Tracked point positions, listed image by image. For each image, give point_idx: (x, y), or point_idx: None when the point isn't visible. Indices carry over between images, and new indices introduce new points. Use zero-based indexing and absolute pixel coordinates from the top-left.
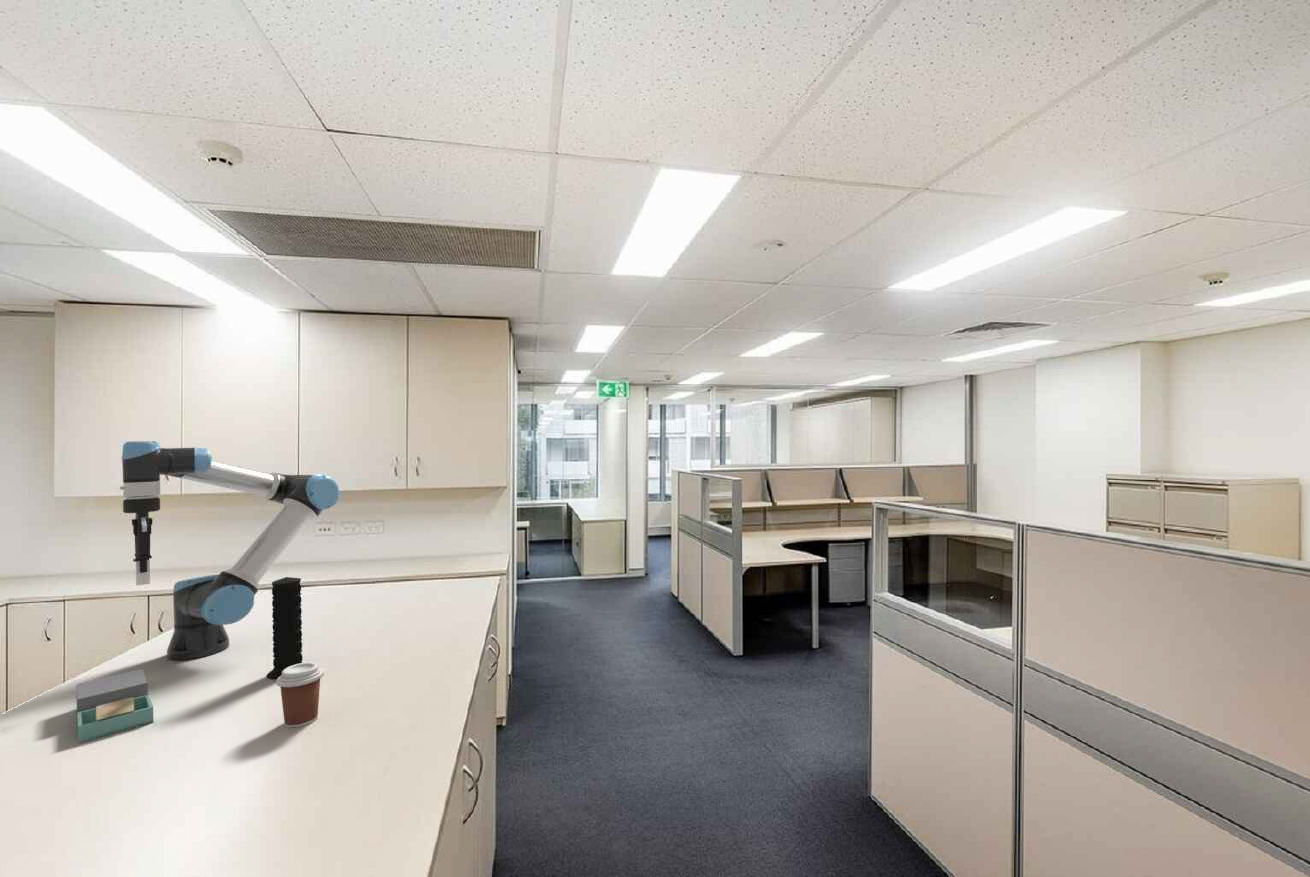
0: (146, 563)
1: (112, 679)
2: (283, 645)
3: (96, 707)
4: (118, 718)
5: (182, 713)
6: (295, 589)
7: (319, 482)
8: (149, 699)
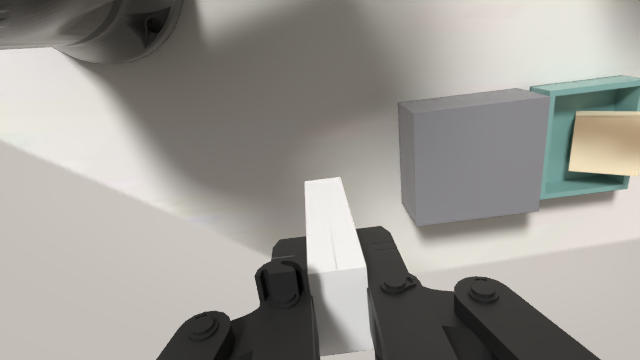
0: (405, 268)
1: (447, 166)
2: None
3: (637, 175)
4: None
5: (623, 24)
6: None
7: None
8: (588, 87)
